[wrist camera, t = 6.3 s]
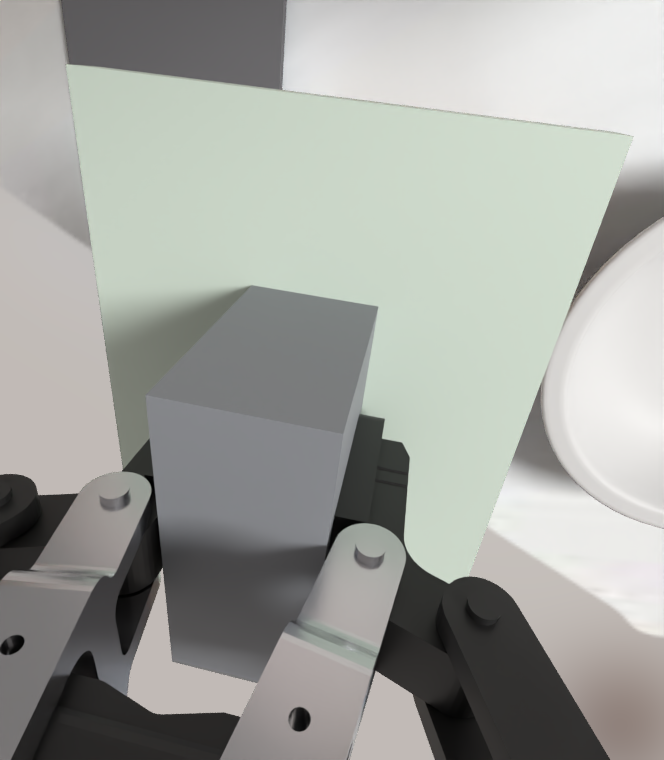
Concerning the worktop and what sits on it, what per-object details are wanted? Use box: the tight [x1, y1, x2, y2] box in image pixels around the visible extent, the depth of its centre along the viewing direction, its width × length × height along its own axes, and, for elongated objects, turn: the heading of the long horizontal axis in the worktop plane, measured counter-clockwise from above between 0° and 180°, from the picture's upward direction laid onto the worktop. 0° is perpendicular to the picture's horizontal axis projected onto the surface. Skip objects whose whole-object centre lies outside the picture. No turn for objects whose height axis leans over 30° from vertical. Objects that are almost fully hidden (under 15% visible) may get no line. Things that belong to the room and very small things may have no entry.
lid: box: [66, 64, 634, 683], centre depth 12 cm, size 15×11×7 cm
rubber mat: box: [61, 0, 287, 90], centre depth 30 cm, size 20×14×1 cm
